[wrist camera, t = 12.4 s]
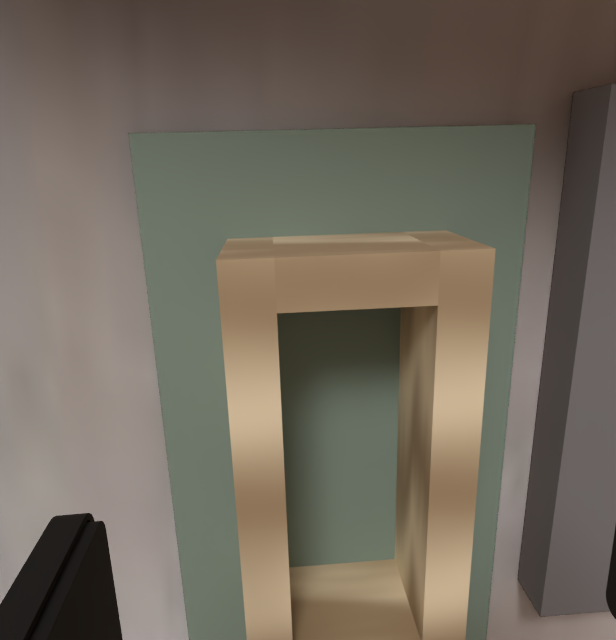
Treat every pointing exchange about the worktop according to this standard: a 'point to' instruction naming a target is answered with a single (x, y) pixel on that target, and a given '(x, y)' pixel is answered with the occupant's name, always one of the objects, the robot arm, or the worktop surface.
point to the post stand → (577, 382)
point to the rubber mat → (316, 333)
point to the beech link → (413, 427)
